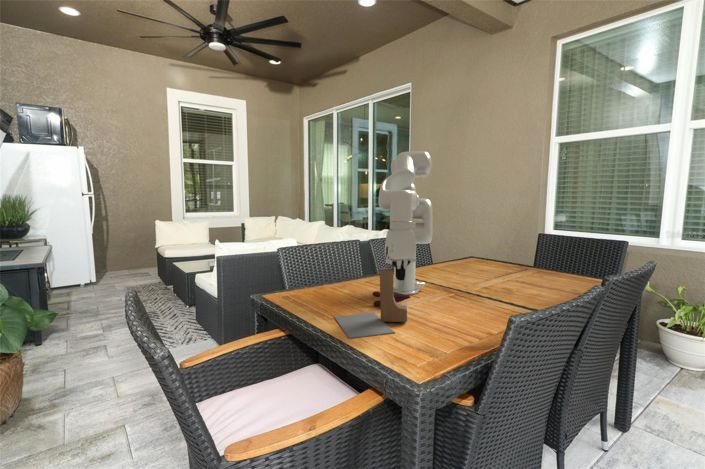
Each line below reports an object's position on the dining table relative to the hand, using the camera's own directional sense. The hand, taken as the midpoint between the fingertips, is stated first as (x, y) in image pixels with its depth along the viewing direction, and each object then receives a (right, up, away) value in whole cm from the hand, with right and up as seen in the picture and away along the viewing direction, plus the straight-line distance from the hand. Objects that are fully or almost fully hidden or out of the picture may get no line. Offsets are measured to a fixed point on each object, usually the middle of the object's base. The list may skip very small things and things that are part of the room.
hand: (400, 279), depth 123 cm
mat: (-13, -15, -2) cm, 20 cm away
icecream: (-1, -13, +19) cm, 23 cm away
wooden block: (-2, -14, +1) cm, 15 cm away
